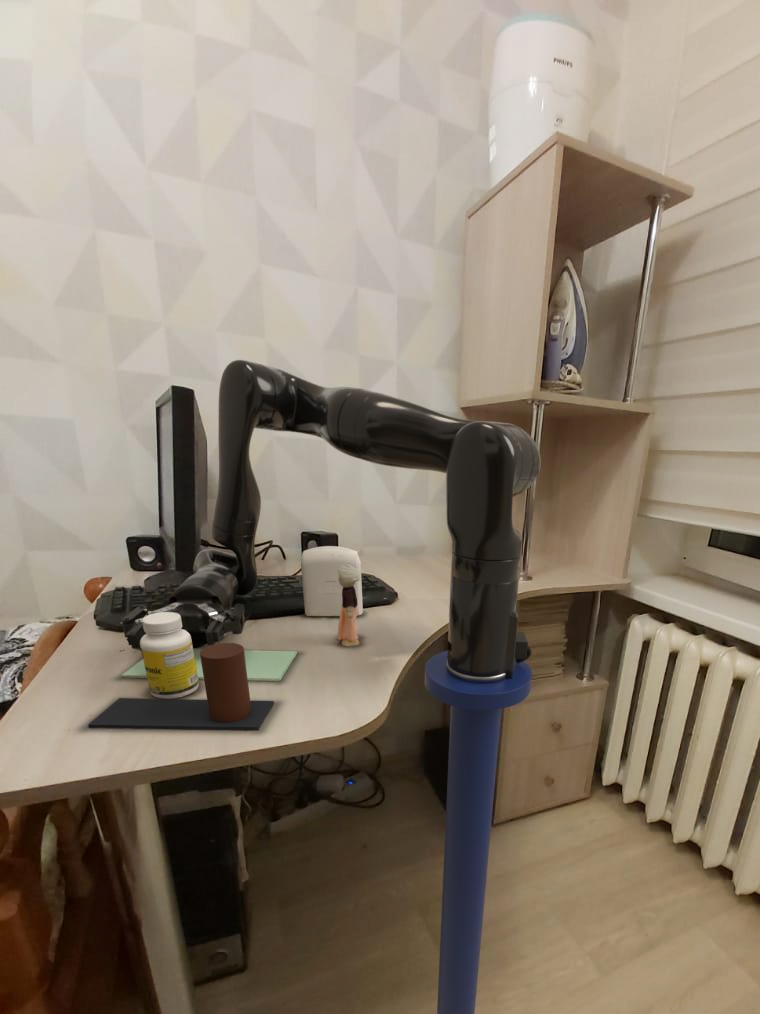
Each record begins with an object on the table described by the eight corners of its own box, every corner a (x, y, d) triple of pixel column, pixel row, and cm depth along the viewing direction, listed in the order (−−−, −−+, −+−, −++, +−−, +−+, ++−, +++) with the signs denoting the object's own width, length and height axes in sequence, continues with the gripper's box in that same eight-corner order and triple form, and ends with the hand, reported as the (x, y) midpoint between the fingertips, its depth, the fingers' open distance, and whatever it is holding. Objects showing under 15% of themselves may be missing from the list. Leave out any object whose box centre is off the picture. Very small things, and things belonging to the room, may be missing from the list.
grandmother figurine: (334, 634, 85) (330, 559, 80) (357, 632, 86) (355, 558, 81) (341, 653, 78) (338, 572, 73) (367, 650, 80) (365, 571, 75)
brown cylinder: (256, 703, 62) (249, 643, 59) (243, 723, 58) (235, 659, 55) (218, 703, 62) (209, 642, 59) (203, 722, 58) (192, 657, 55)
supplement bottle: (144, 688, 65) (128, 615, 61) (190, 676, 68) (178, 606, 65) (158, 705, 61) (143, 628, 58) (206, 691, 65) (194, 618, 61)
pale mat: (297, 653, 77) (297, 651, 77) (279, 681, 69) (279, 678, 69) (157, 650, 75) (156, 647, 75) (122, 677, 67) (121, 675, 67)
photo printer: (302, 617, 91) (297, 548, 86) (306, 609, 95) (301, 543, 90) (362, 618, 93) (360, 550, 88) (363, 610, 97) (361, 544, 92)
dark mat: (274, 703, 63) (273, 700, 63) (258, 730, 58) (257, 727, 58) (120, 700, 62) (119, 697, 62) (88, 727, 56) (87, 724, 56)
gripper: (146, 576, 76) (100, 613, 61) (250, 576, 79) (230, 610, 65) (156, 624, 79) (113, 670, 64) (256, 621, 82) (237, 664, 68)
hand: (172, 640), depth 64 cm, fingers open, 8 cm apart
